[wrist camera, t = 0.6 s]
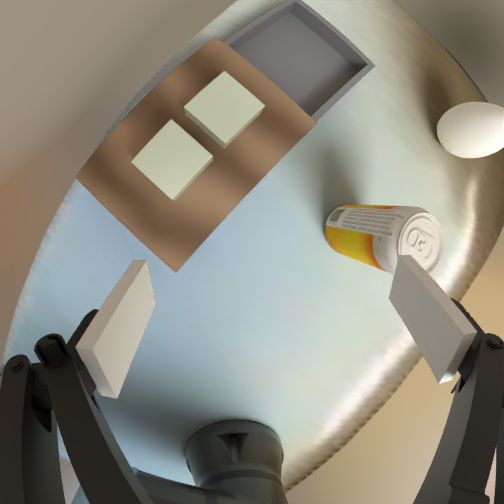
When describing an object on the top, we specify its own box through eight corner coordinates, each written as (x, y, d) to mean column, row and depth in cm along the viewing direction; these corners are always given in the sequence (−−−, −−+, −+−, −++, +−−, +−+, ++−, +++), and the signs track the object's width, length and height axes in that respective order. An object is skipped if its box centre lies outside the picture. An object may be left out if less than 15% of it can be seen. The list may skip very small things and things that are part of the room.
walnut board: (181, 261, 33) (176, 272, 27) (96, 181, 30) (75, 177, 24) (299, 135, 33) (316, 123, 27) (214, 61, 30) (216, 36, 24)
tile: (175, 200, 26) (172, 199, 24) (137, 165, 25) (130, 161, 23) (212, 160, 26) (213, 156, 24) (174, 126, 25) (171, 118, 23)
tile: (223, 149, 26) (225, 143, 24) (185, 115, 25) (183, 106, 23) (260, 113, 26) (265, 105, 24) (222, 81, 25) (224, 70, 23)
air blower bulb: (446, 108, 35) (530, 84, 18) (463, 153, 37) (550, 144, 19) (417, 118, 35) (510, 90, 17) (436, 167, 36) (533, 160, 19)
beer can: (351, 261, 36) (427, 294, 22) (314, 238, 35) (381, 261, 20) (373, 220, 36) (455, 232, 21) (337, 195, 35) (414, 192, 20)
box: (299, 135, 33) (308, 129, 29) (214, 61, 30) (215, 47, 27) (363, 75, 33) (375, 65, 29) (288, 9, 30) (294, -5, 26)
